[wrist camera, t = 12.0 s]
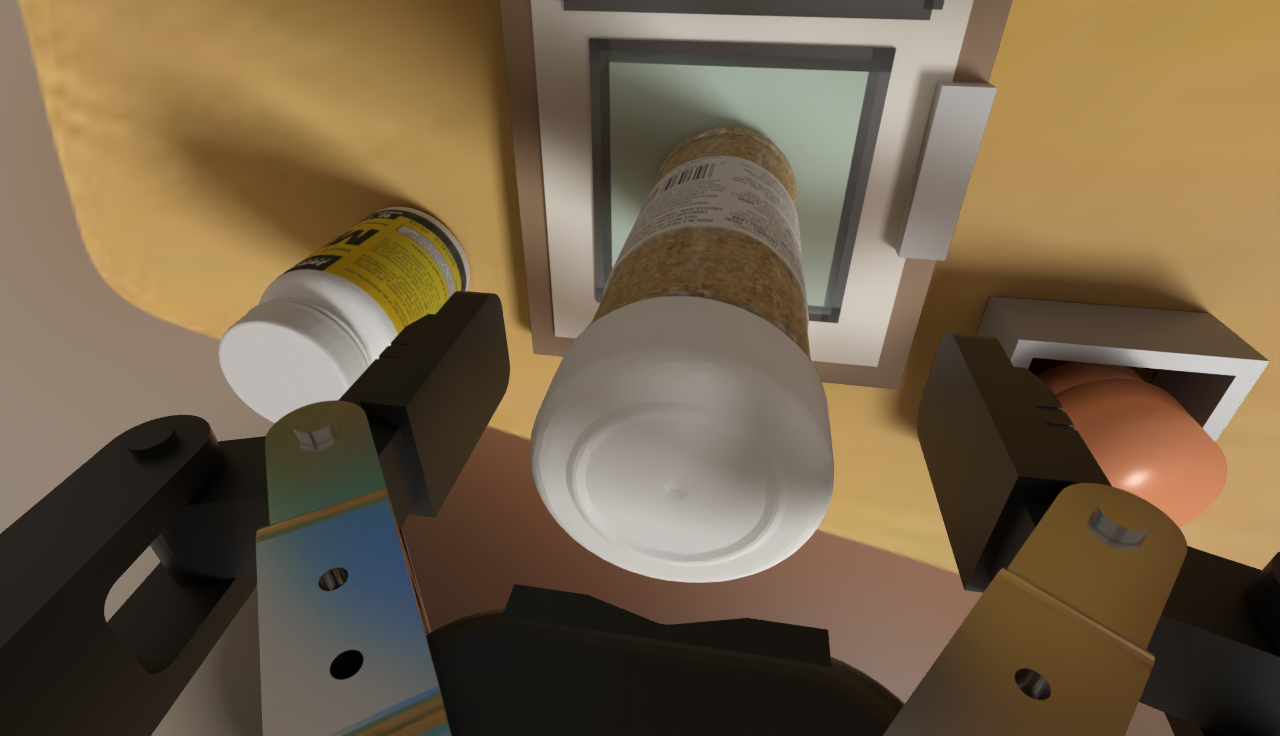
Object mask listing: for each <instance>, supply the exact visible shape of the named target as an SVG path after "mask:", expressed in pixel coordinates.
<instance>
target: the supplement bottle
mask: <svg viewBox="0 0 1280 736" xmlns="http://www.w3.org/2000/svg"><path fill="white" fill-rule="evenodd" d="M469 282H470V269H469V264H468V260H467V257H466V254H465V252H464V250H463V248H462V246H461V244H460V243H459V241H458V240H457V239H456V237H455V236H454V235H453V234H452V233H451V232H450V230H449V229H447V228H446V227H445V226H444V225H443V224H442V223H440V222H439V221H438V220H436V219H435V218H433V217H432V216H430V215H428V214H426V213H424V212H421V211H419V210H416V209H412V208H407V207H389V208H385V209H381V210H379V211H376V212H374V213H372V214H370V215H369V216H367V217H366V218H364V219H363V220H362V221H360V222H359V223H357V224H356V225H354V226H353V227H351V228H350V229H348V230H347V231H346V232H344V233H343V234H341V235H340V236H338V237H337V238H335V239H334V240H332V241H331V242H329V243H328V244H326V245H325V246H324V247H322V248H321V249H319V250H318V251H316V252H315V253H313V254H312V255H310V256H309V257H307V258H306V259H304V260H303V261H302V262H300V263H298V264H297V265H295V266H294V267H293V268H291V269H289V270H288V271H286V272H285V273H283V274H282V275H280V276H279V277H278V278H277V279H276V280H275V281H273V282H272V283H271V284H270V285H269V286H268V288H267V289H266V290H265V292H264V293H263V295H262V298H261V300H260V302H259V305H257V306H255V307H254V308H252V309H251V310H250V311H249V312H248V313H247V314H246V315H245V316H244V317H242V318H241V319H240V320H239V321H237V322H236V323H235V324H234V325H232V326H231V327H230V328H229V329H228V330H227V331H226V332H225V334H224V335H223V337H222V339H221V342H220V345H219V360H220V365H221V368H222V371H223V374H224V376H225V377H226V379H227V381H228V383H229V385H230V386H231V388H232V389H233V390H234V391H235V393H236V394H237V395H238V396H239V397H240V399H241V400H243V401H244V402H245V403H246V404H247V405H248V406H249V407H251V408H252V409H253V410H254V411H256V412H257V413H258V414H260V415H261V416H263V417H265V418H266V419H268V420H270V421H272V422H274V423H276V422H277V421H278V420H280V419H281V418H282V417H284V416H285V415H287V414H288V413H290V412H292V411H294V410H296V409H298V408H301V407H303V406H306V405H309V404H313V403H317V402H322V401H333V400H339V399H340V398H341V397H342V396H343V394H344V393H345V392H346V391H347V390H348V389H349V388H350V387H351V386H352V385H353V384H354V382H355V381H356V380H357V379H358V378H359V377H360V376H361V375H362V374H363V373H364V371H365V370H366V369H367V368H368V367H369V366H370V365H371V364H372V363H373V362H374V361H375V359H379V355H380V354H381V353H382V352H383V351H384V350H385V348H386V347H387V346H391V342H392V341H393V340H394V339H395V338H396V336H397V335H398V334H399V333H400V332H401V331H402V330H403V329H404V328H405V327H406V326H408V325H409V324H411V323H413V322H415V321H416V320H418V319H420V318H422V317H424V316H425V315H427V314H436V313H437V312H438V311H439V309H440V308H441V307H442V306H443V305H444V304H445V302H446V301H447V300H448V299H449V298H450V297H451V296H452V294H453V293H454V292H456V291H467V290H468V287H469Z"/></svg>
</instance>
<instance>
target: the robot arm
mask: <svg viewBox="0 0 1280 736" xmlns="http://www.w3.org/2000/svg"><path fill="white" fill-rule="evenodd" d="M509 375H510V362H509V354H508V347H507V340H506V332H505V325H504V318H503V311H502V305H501V301H500V298H499V297H498V295H496V294H492V293H480V292H468V291H456V292H454V293H453V294H452V296H451V297H450V298H449V299H448V300H447V301H446V302H445V304H444V305H443V306H442V307H441V308H440V309H439V311H438V312H437V313H436V314H427V315H425V316H424V317H422V318H420V319H418V320H416V321H415V322H413V323H411V324H409V325H408V326H406V327H405V328H404V329H403V330H402V331H401V332H400V333H399V334H398V335H397V336H396V338H395V339H394V340H393V341H392V342H391V346H387V347H386V348H385V350H384V351H383V352H382V353H381V354H380V355H379V359H375V361H374V362H373V363H372V364H371V365H370V366H369V367H368V368H367V369H366V370H365V371H364V373H363V374H362V375H361V376H360V377H359V378H358V379H357V380H356V381H355V382H354V384H353V385H352V386H351V387H350V388H349V389H348V390H347V391H346V392H345V393H344V394H343V396H342V397H341V398H340V399H339V400H333V401H322V402H317V403H313V404H309V405H306V406H303V407H301V408H298V409H296V410H294V411H292V412H290V413H288V414H287V415H285V416H284V417H282V418H281V419H280V420H278V421H277V422H276V423H275V424H274V425H273V426H272V427H271V428H270V430H269V431H268V433H267V435H266V436H264V437H255V438H246V439H237V440H228V441H219V442H218V441H217V439H216V437H215V435H214V434H213V431H212V429H211V427H210V425H209V424H208V422H207V421H206V420H204V419H202V418H200V417H197V416H192V415H175V416H167V417H163V418H158V419H154V420H151V421H148V422H145V423H143V424H140V425H138V426H135V427H133V428H131V429H130V430H127V431H125V432H124V433H122V434H121V435H119V436H117V437H116V438H115V439H113V440H112V441H111V442H109V443H108V444H107V445H106V446H105V447H104V448H102V449H101V450H100V451H99V452H98V453H96V454H95V455H94V456H93V457H92V458H91V459H89V460H88V461H87V462H86V463H84V464H83V465H82V466H81V467H80V468H79V469H77V470H76V471H75V472H74V473H72V474H71V475H70V476H69V477H68V478H67V479H65V480H64V481H63V482H62V483H61V484H59V485H58V486H57V487H56V488H55V489H53V490H52V491H51V492H50V493H49V494H47V495H46V496H45V497H44V498H43V499H42V500H40V501H39V502H38V503H37V504H36V505H34V506H33V507H32V508H31V509H30V510H28V511H27V512H26V513H25V514H24V515H22V516H21V517H20V518H19V519H18V520H16V521H15V522H14V523H13V524H12V525H11V526H9V527H8V528H7V529H6V530H4V531H3V532H2V533H1V534H0V736H151V735H152V733H153V732H154V731H155V729H156V728H157V726H158V725H159V723H160V722H161V721H162V719H163V718H164V716H165V715H166V714H167V712H168V711H169V709H170V708H171V706H172V705H173V704H174V702H175V701H176V699H177V698H178V697H179V695H180V694H181V692H182V691H183V690H184V688H185V687H186V685H187V684H188V682H189V681H190V679H191V678H192V677H193V675H194V674H195V673H196V671H197V670H198V668H199V667H200V665H201V664H202V663H203V661H204V660H205V658H206V657H207V656H208V654H209V653H210V651H211V650H212V648H213V647H214V646H215V644H216V643H217V641H218V640H219V639H220V637H221V636H222V634H223V633H224V631H225V630H226V629H227V627H228V626H229V624H230V623H231V622H232V620H233V619H234V617H235V616H236V614H237V613H238V612H239V610H240V609H241V607H242V606H243V604H244V603H245V602H246V600H247V599H248V597H249V596H250V595H251V593H252V592H253V590H254V589H255V587H256V586H257V587H258V588H257V589H258V614H259V640H260V641H259V642H260V668H261V692H262V693H261V695H262V721H263V736H1125V735H1126V732H1127V730H1128V727H1129V725H1130V722H1131V720H1132V717H1133V715H1134V713H1135V710H1136V707H1137V705H1138V702H1141V703H1143V704H1146V705H1148V706H1151V707H1153V708H1155V709H1158V710H1160V711H1163V712H1164V713H1165V715H1166V717H1167V719H1168V722H1169V724H1170V726H1171V728H1172V731H1173V733H1174V735H1175V736H1280V552H1278V553H1277V554H1276V555H1275V556H1274V557H1273V558H1272V560H1271V561H1270V562H1269V563H1268V564H1267V565H1266V566H1265V568H1264V569H1263V570H1259V569H1256V568H1253V567H1250V566H1247V565H1244V564H1241V563H1238V562H1235V561H1232V560H1228V559H1225V558H1222V557H1219V556H1216V555H1213V554H1210V553H1207V552H1204V551H1201V550H1198V549H1195V548H1192V547H1189V546H1187V542H1186V540H1185V537H1184V535H1183V533H1182V532H1181V530H1180V529H1179V527H1178V526H1177V525H1176V524H1175V523H1174V521H1173V520H1172V519H1171V518H1169V517H1168V516H1167V515H1166V514H1165V513H1164V512H1163V511H1161V510H1160V509H1159V508H1157V507H1156V506H1154V505H1153V504H1151V503H1149V502H1148V501H1146V500H1144V499H1142V498H1140V497H1138V496H1137V495H1134V494H1132V493H1130V492H1127V491H1125V490H1122V489H1119V488H1116V487H1112V485H1111V483H1110V482H1109V480H1108V479H1107V477H1106V475H1105V474H1104V472H1103V471H1102V469H1101V467H1100V466H1099V464H1098V463H1097V461H1096V459H1095V458H1094V456H1093V455H1092V453H1091V451H1090V450H1089V448H1088V447H1087V445H1086V443H1085V442H1084V440H1083V439H1082V437H1081V435H1080V434H1079V432H1078V431H1077V430H1074V424H1073V423H1072V421H1071V419H1070V418H1069V416H1068V415H1067V413H1066V412H1063V407H1062V405H1061V403H1060V402H1059V400H1058V399H1057V397H1056V395H1055V394H1054V392H1053V391H1052V389H1051V387H1049V386H1048V385H1047V384H1046V383H1044V382H1043V381H1042V380H1041V379H1039V378H1038V377H1037V376H1035V375H1034V374H1033V373H1032V372H1030V371H1029V370H1028V369H1027V368H1023V367H1014V366H1013V365H1012V363H1011V361H1010V359H1009V358H1008V356H1007V354H1006V352H1005V351H1004V349H1003V347H1002V345H1001V344H1000V342H999V340H998V339H997V338H996V337H994V336H986V335H974V334H962V333H950V332H949V333H946V334H945V335H944V336H943V338H942V340H941V342H940V344H939V347H938V350H937V353H936V356H935V359H934V362H933V366H932V369H931V372H930V375H929V378H928V381H927V384H926V387H925V390H924V393H923V397H922V400H921V403H920V407H919V412H918V422H917V429H918V437H919V441H920V445H921V448H922V451H923V454H924V458H925V461H926V464H927V468H928V471H929V474H930V478H931V481H932V484H933V488H934V491H935V494H936V497H937V501H938V504H939V507H940V511H941V514H942V517H943V521H944V524H945V527H946V531H947V534H948V537H949V541H950V544H951V547H952V550H953V554H954V557H955V560H956V564H957V567H958V570H959V574H960V577H961V580H962V584H963V587H964V590H968V591H975V592H983V594H982V596H981V597H980V599H979V600H978V601H977V603H976V604H975V606H974V607H973V609H972V610H971V611H970V613H969V614H968V616H967V617H966V618H965V620H964V621H963V623H962V624H961V626H960V627H959V629H958V630H957V631H956V633H955V634H954V635H953V637H952V638H951V640H950V641H949V643H948V644H947V645H946V647H945V648H944V650H943V651H942V653H941V654H940V656H939V657H938V658H937V660H936V661H935V663H934V664H933V665H932V667H931V668H930V670H929V671H928V672H927V674H926V675H925V677H924V678H923V679H922V681H921V682H920V684H919V685H918V686H917V688H916V689H915V691H914V692H913V693H912V695H911V696H910V698H909V699H908V701H907V702H906V703H905V704H904V703H903V702H902V701H901V700H900V699H899V698H898V697H896V696H895V695H894V694H893V693H892V692H890V691H889V690H888V689H887V688H885V687H884V686H883V685H881V684H880V683H879V682H877V681H876V680H874V679H872V678H871V677H870V676H868V675H866V674H865V673H863V672H862V671H860V670H858V669H856V668H854V667H852V666H850V665H848V664H847V663H845V662H843V661H840V660H838V659H835V658H833V657H830V648H829V636H828V630H825V629H819V628H812V627H805V626H798V625H792V624H785V623H778V622H771V621H764V620H757V619H750V618H742V619H731V620H719V621H708V622H696V623H685V624H674V625H665V624H659V623H656V622H653V621H651V620H648V619H646V618H644V617H641V616H639V615H636V614H634V613H631V612H629V611H626V610H624V609H621V608H619V607H616V606H614V605H612V604H609V603H607V602H604V601H601V600H599V599H596V598H594V597H592V596H589V595H585V594H578V593H571V592H564V591H557V590H550V589H543V588H537V587H530V586H523V585H516V584H515V585H514V587H513V589H512V592H511V595H510V597H509V600H508V603H507V605H506V608H501V609H494V610H489V611H484V612H479V613H476V614H473V615H470V616H466V617H463V618H460V619H458V620H455V621H453V622H451V623H449V624H446V625H444V626H441V627H440V628H438V629H436V630H434V631H433V632H431V630H430V627H429V623H428V619H427V616H426V613H425V609H424V605H423V602H422V599H421V595H420V591H419V588H418V584H417V581H416V577H415V574H414V570H413V567H412V563H411V560H410V556H409V553H408V549H407V545H406V542H405V538H404V535H403V532H402V528H401V527H402V525H403V524H404V522H405V520H406V519H407V517H408V515H409V514H413V515H420V516H429V517H436V515H437V513H438V511H439V509H440V508H441V506H442V504H443V503H444V501H445V499H446V497H447V495H448V494H449V492H450V490H451V488H452V487H453V485H454V483H455V481H456V480H457V478H458V476H459V474H460V472H461V471H462V469H463V467H464V465H465V464H466V462H467V460H468V458H469V457H470V455H471V453H472V451H473V449H474V447H475V446H476V444H477V442H478V441H479V439H480V437H481V435H482V434H483V432H484V430H485V428H486V426H487V425H488V423H489V421H490V419H491V418H492V416H493V414H494V412H495V411H496V409H497V407H498V405H499V403H500V402H501V400H502V398H503V396H504V394H505V392H506V390H507V386H508V382H509ZM149 545H150V546H151V547H152V549H153V551H154V552H155V554H156V555H157V557H158V558H159V560H160V561H161V562H160V563H159V564H158V566H157V567H156V568H155V569H154V570H153V571H152V572H151V574H150V575H149V576H148V577H147V578H146V579H145V580H144V581H143V583H142V584H141V585H140V586H139V587H138V588H137V589H136V590H135V592H134V593H133V594H132V595H131V596H130V597H129V598H128V599H127V601H126V602H125V603H124V604H123V605H122V606H121V607H120V609H119V610H118V611H117V612H116V613H115V614H114V615H113V616H112V618H111V619H110V620H109V621H108V622H106V620H105V617H104V605H105V601H106V598H107V595H108V593H109V591H110V589H111V588H112V586H113V584H114V583H115V582H116V581H117V580H118V579H119V578H120V577H121V575H122V574H123V573H124V572H125V571H126V570H127V569H128V568H129V567H130V566H131V565H132V564H133V562H134V561H135V560H136V559H137V558H138V557H139V556H140V555H141V554H142V553H143V552H144V550H146V549H147V547H148V546H149Z"/></svg>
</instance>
